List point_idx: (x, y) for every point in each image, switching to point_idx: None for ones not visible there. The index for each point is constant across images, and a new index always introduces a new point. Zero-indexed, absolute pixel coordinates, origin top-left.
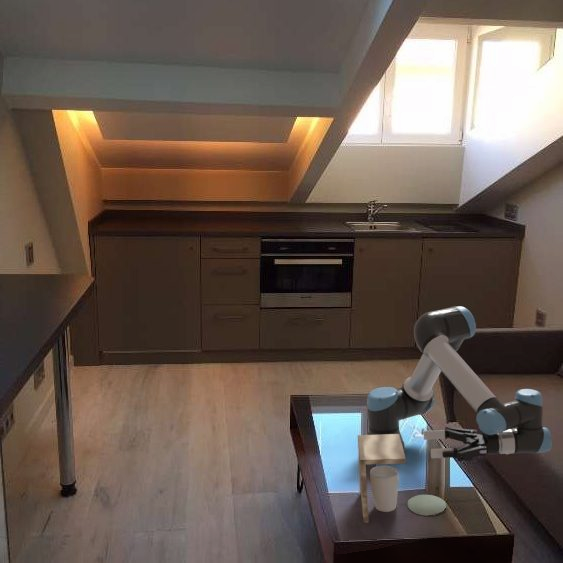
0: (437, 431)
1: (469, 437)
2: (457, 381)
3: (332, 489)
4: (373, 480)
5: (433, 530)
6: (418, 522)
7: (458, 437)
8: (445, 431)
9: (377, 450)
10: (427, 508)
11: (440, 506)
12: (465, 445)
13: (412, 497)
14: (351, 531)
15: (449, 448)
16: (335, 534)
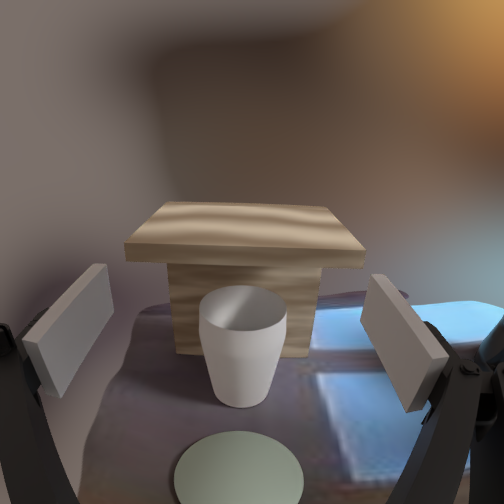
0: (404, 323)
1: None
2: None
3: (315, 315)
4: (220, 300)
5: (100, 459)
6: (148, 440)
7: (396, 495)
8: (449, 375)
9: (215, 215)
10: (211, 475)
11: None
12: (23, 458)
13: (283, 446)
14: (154, 329)
15: (44, 325)
16: (153, 312)
